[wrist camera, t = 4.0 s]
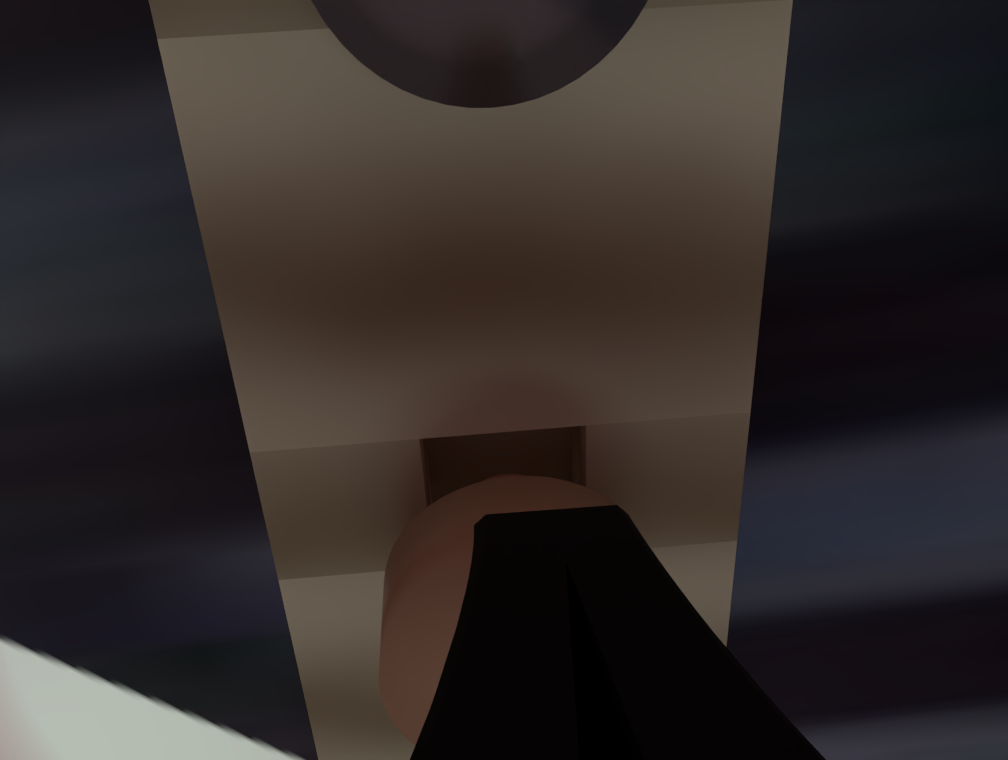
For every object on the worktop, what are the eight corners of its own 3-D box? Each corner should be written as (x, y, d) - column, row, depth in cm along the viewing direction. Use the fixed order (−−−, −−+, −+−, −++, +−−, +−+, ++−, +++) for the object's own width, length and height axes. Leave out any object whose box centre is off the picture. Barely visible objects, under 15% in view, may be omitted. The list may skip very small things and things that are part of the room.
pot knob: (374, 418, 16) (360, 577, 13) (628, 397, 16) (683, 549, 13) (400, 607, 18) (395, 786, 15) (623, 587, 18) (670, 761, 15)
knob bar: (126, -376, 13) (52, -428, 10) (759, -403, 13) (840, -461, 11) (363, 824, 27) (356, 929, 24) (674, 794, 27) (700, 895, 24)
